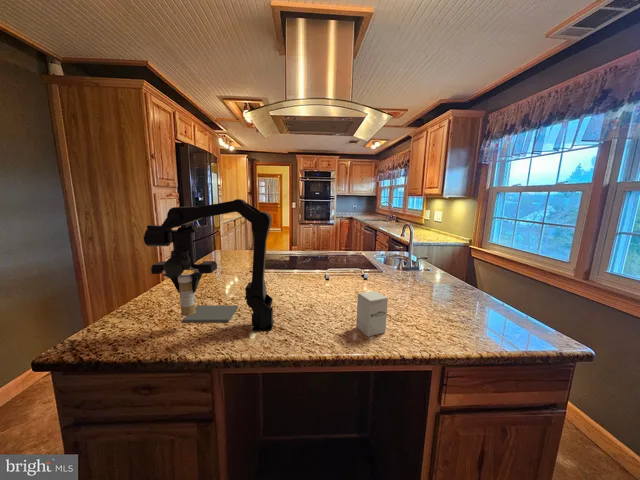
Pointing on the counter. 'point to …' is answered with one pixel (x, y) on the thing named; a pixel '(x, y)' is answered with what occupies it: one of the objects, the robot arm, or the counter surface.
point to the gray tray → (212, 313)
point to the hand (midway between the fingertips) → (187, 292)
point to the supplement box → (371, 313)
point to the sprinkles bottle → (186, 295)
